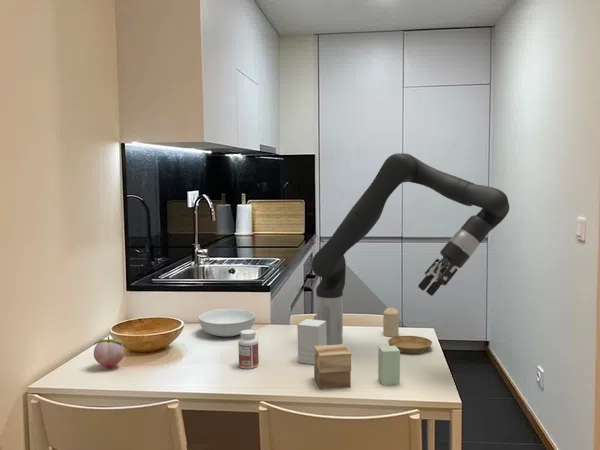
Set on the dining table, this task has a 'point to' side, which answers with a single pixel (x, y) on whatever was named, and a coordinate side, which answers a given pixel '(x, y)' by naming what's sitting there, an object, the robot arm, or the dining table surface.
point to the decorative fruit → (109, 352)
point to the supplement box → (310, 339)
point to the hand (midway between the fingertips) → (424, 291)
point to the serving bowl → (226, 321)
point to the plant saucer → (410, 343)
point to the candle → (390, 322)
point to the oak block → (332, 358)
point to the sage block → (388, 365)
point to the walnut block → (332, 379)
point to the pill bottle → (248, 349)
